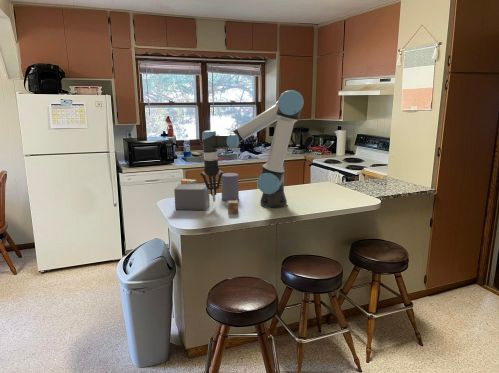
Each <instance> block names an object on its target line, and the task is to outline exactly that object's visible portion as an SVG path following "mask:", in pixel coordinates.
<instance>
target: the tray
mask: <svg viewBox="0 0 499 373" xmlns="http://www.w3.org/2000/svg"><path fill="white" fill-rule="evenodd" d="M210 198H211V197H210V189H207V187H206V188H205V190H204V210H205V211H208V208H209V206H210V204H211V203H210V202H211V200H210Z"/></svg>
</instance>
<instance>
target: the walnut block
mask: <svg viewBox="0 0 499 373" xmlns="http://www.w3.org/2000/svg"><path fill="white" fill-rule="evenodd" d="M227 209H228V210H227V214H228V215H229V214H230V215H238V214H239V199H237V200H229V201H227Z"/></svg>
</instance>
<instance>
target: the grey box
mask: <svg viewBox="0 0 499 373" xmlns="http://www.w3.org/2000/svg"><path fill="white" fill-rule="evenodd" d="M205 188H206V184H205V183H204V184H202V183H201V184H200V183H196V184H181V183H180V184H178V185H177V186H176V187H175V188H174V189H173V191H174V208H175V209H174V210H176V211H177V212H178V211H179V212H181V211H182V212H183V211H191V212H192V211H193V212H194V211H195V212H203V211H204V212H205V211H206V210H204V190H205Z"/></svg>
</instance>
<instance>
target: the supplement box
mask: <svg viewBox="0 0 499 373" xmlns="http://www.w3.org/2000/svg"><path fill="white" fill-rule="evenodd" d="M180 184H197V179H190V178H183V179H180Z"/></svg>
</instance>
